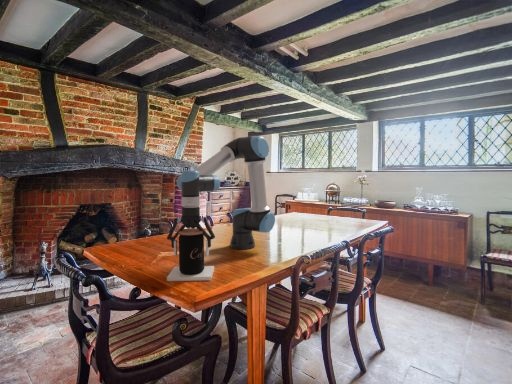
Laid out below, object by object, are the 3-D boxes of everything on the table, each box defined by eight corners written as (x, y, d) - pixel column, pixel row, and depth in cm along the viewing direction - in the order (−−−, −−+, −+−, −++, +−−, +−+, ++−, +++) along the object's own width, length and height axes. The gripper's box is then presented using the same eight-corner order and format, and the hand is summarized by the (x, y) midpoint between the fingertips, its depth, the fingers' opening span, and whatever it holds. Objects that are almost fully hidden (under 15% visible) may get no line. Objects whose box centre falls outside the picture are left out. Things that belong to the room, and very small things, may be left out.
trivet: (214, 269, 134) (214, 265, 134) (210, 280, 120) (210, 276, 120) (174, 269, 133) (174, 266, 133) (166, 281, 119) (166, 277, 119)
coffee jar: (192, 277, 119) (191, 234, 118) (174, 272, 125) (173, 231, 124) (209, 269, 128) (208, 229, 127) (191, 265, 134) (191, 227, 133)
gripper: (158, 207, 120) (160, 258, 122) (219, 207, 122) (219, 257, 123) (163, 205, 128) (164, 253, 129) (220, 205, 129) (221, 252, 130)
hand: (191, 255), depth 126 cm, fingers open, 13 cm apart
